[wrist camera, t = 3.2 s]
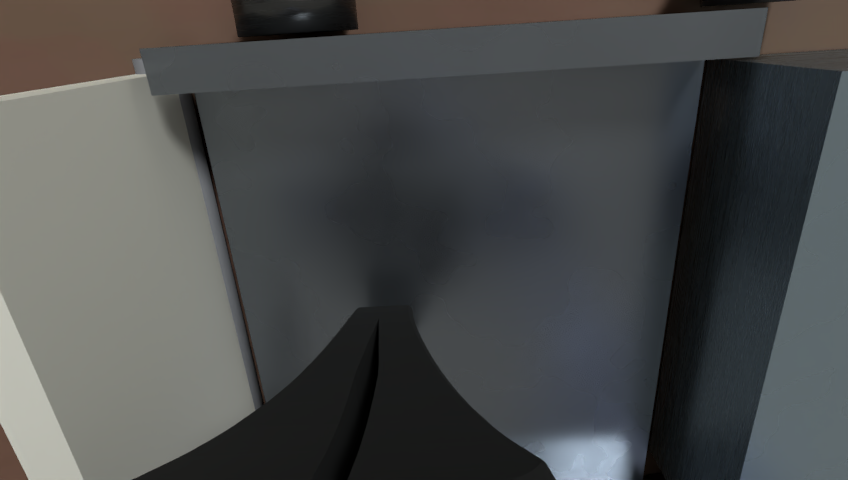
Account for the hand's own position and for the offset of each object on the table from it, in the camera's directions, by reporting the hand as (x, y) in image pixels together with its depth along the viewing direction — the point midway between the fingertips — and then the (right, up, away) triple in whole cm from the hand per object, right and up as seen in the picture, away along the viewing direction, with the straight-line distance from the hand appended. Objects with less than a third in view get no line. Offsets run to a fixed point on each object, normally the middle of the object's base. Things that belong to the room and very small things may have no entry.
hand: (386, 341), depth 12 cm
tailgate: (-4, 0, +1) cm, 5 cm away
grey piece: (+4, +1, +2) cm, 4 cm away
